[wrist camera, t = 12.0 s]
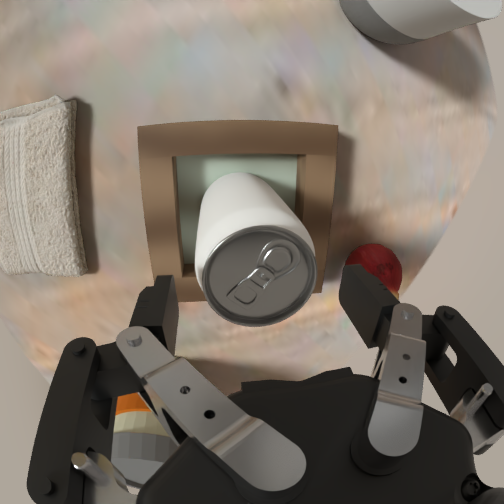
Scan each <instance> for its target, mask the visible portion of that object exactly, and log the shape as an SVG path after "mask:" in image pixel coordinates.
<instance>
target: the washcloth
mask: <svg viewBox="0 0 504 504" xmlns="http://www.w3.org/2000/svg"><path fill="white" fill-rule="evenodd" d="M76 111H77V101H76V100H67V101H64V100H63V99H62V98H60V97H59V96H58V95H56V94H55V96H53V97H51V98H50V99H47V100H44V101H40V102H35V103H31V104H27V105H23V106H19V107H16V108H12V109H9V110H5V111H2V112H0V266H1V268H2V269H3V271H4V272H5V273H6V274H11V275H14V274H15V275H17V274H28V273H30V272H31V273H43V272H44V273H45V274H46V275H51V276H52V275H54V276H64V277H66V276H73V277H79V276H82V275H84V274H85V273H86V271H88V269H87V262H86V259H85V252H84V251H85V249H84V248H83V238H82V234H81V228H80V220H79V219H80V216H79V207H78V194H77V188H76V178H75V161H74V149H75V144H74V141H75V126H76V124H75V121H76Z"/></svg>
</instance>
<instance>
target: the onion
mask: <svg viewBox="0 0 504 504" xmlns="http://www.w3.org/2000/svg"><path fill="white" fill-rule="evenodd" d="M353 264H361V265H362V266H363V267H364V269H365V270H366V271H367V272H368V273H371V274H372V275H374V276H376V277H377V278H379V280H380V281H381V282H382V283H383V285H385V286H386V287H387V288H388V290H390V292H391V293H392V294H393V295H394V296H395V297H396V298H397V299H398V297H399V293H398V290H399V288H400V285H401V281H402V267H401V264H400V262H399V260H398V258H397V257H396V255H395V254H394V253H393V252H392V250H390V249H388V248H386V247H384V246H382V245H380V244H366V245H363V246H360V247H358V248H357V249H356V250H354V251H353V252H352V253H351V254H350V255H349V257H348V259H347V260H346V262H345V265H353ZM398 300H399V299H398Z"/></svg>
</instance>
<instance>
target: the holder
mask: <svg viewBox="0 0 504 504" xmlns="http://www.w3.org/2000/svg"><path fill="white" fill-rule="evenodd" d="M137 128H138V151H139V166H140V179H141V190H142V200H143V209H144V218H145V226H146V233H147V241H148V248H149V254H150V260H151V267H152V272H153V278H154V283H155V280H156V277H157V275H173V276H174V280H175V287H176V293H177V300H178V302H195V301H207V300H206V298H205V296H204V293H203V291H202V289H201V287H200V285H199V283H198V280H197V277H196V271H195V250H196V240H197V231H198V223H199V216H200V209H201V203H202V199H203V197H204V194H205V192H206V191H207V189H208V188H209V187H210V185H211V184H212V183H213V182H215V181H216V180H217V179H219V178H220V177H222V176H224V175H227V174H230V173H236V172H244V173H249V174H252V175H255V176H257V177H259V178H261V179H262V180H264V181H265V182H266V183H267V184H268V185H269V186H270V187H271V188H272V189H273V190H274V191H275V192H276V193H277V194H278V195H279V197H280V198H281V199H282V200H283V201H284V202H285V203H286V205H287V206H288V207H289V208H290V209H291V210H292V212H293V213H294V214H295V215H296V216H297V218H298V219H299V220H300V221H301V223H302V224H303V225H304V227H305V228H306V230H307V231H308V233H309V235H310V237H311V239H312V242H313V245H314V250H315V258H316V262H317V281H316V285H315V288H314V290H313V292H312V293H321V292H322V285H323V279H324V272H325V265H326V257H327V250H328V242H329V234H330V225H331V216H332V206H333V196H334V184H335V172H336V157H337V140H338V125H329V124H319V123H306V122H291V121H267V120H218V121H195V122H179V123H167V124H156V125H147V126H139V127H137Z"/></svg>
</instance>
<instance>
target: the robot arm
mask: <svg viewBox="0 0 504 504" xmlns="http://www.w3.org/2000/svg"><path fill="white" fill-rule="evenodd" d="M339 301H340V304H341V306H342V307H343V309H344V311H345V312H346V314H347V315H348V317H349V318H350V320H351V322H352V323H353V325H354V326H355V328H356V330H357V331H358V333H359V334H360V336H361V338H362V339H363V341H364V343H365V344H366V346H367V347H368V348H373V347H379V350H378V353H377V356H376V359H375V363H374V367H373V370H372V374H371V377H369V376H365V375H359V374H353V372H352V370H351V368H350V367H346V368H341V369H336V370H331V371H325V372H323V373H321V374H318V375H316V376H313V377H311V378H308V379H306V380H303V381H282V380H261V381H251V382H241V389H242V391H238V392H236V393H233V394H231V395H229V396H227V397H226V396H225V395H224V394H223V393H222V392H221V391H219V390H218V389H217V388H216V387H215V386H214V385H213V384H212V383H210V382H209V381H208V380H207V379H206V378H205V377H204V376H203V375H202V374H201V373H200V372H198V371H197V370H196V369H195V368H194V367H193V366H192V365H191V364H190V363H189V362H188V361H187V360H186V359H185V358H183V357H179V358H177V359H176V358H174V354H175V344H176V335H177V326H178V317H179V308H178V300H177V293H176V287H175V280H174V276H173V275H157V277H156V280H155V283H154V286H151V287H146V288H145V289H144V290H143V291H142V292H141V293H140V294H139V297H138V300H137V303H136V306H135V309H134V312H133V315H132V318H131V321H130V324H129V328H127V329H125V330H123V331H121V332H120V333H119V335H118V336H117V338H116V342H113V343H110V344H105V345H101V346H96V344H95V342H94V341H93V340H92V339H90V338H86V337H81V338H77V339H74V340H72V341H70V342H69V343H68V344H67V345H66V346H65V348H64V350H63V353H62V355H61V358H60V361H59V363H58V366H57V369H56V372H55V374H54V377H53V380H52V383H51V386H50V389H49V392H48V395H47V398H46V402H45V405H44V408H43V412H42V415H41V419H40V422H39V426H38V430H37V434H36V438H35V442H34V446H33V451H32V456H31V461H30V466H29V471H28V477H27V489H28V493H29V495H30V497H31V498H32V500H33V501H34V502H35V503H36V504H504V488H493V487H490V486H487V485H485V484H484V483H483V482H481V480H480V479H479V477H478V475H477V473H476V469H475V464H474V457H473V454H475V455H480V454H483V453H484V452H485V451H487V450H488V449H489V448H490V447H491V446H492V445H493V444H494V443H495V442H496V441H498V440H499V439H500V438H501V437H502V436H503V435H504V366H503V365H502V363H501V362H500V361H499V359H498V358H497V357H496V356H495V355H494V353H493V352H492V351H491V350H490V348H489V347H488V346H487V344H486V343H485V342H484V341H483V340H482V339H481V337H480V336H479V335H478V334H477V333H476V331H475V330H474V329H473V328H472V327H471V326H470V325H469V323H468V322H467V321H466V320H465V319H464V318H463V317H462V316H461V314H460V313H459V312H458V311H457V310H455V309H454V308H452V307H449V306H439V307H438V308H437V309H436V312H435V314H434V315H422V313H421V311H420V310H419V309H418V308H417V307H415V306H413V305H411V304H407V303H400V302H399V301H398V299H397V298H396V297H395V296H394V295H393V294H392V293H391V292H390V290H388V288H387V287H386V286H385V285H383V283H382V282H381V281H380V280H379V278H377V277H376V276H374V275H372V274H371V273H368V272H367V271H366V270H365V269H364V267H363V266H362V265H361V264H353V265H345V266H344V268H343V273H342V279H341V284H340V289H339ZM449 345H450V346H451V348H452V349H453V350H454V352H455V353H456V355H457V363H456V365H455V367H454V365H453V364H452V363H451V361H450V359H449V358H448V357H447V355H446V354H445V352H446V350H447V348H448V346H449ZM424 372H425V373H426V375H427V377H428V378H429V380H430V382H431V383H432V385H433V387H434V388H435V390H436V392H437V393H438V395H439V397H440V399H441V400H442V402H443V404H444V406H445V407H446V409H447V411H448V413H449V415H450V416H448V415H446V414H444V413H442V412H440V411H438V410H436V409H434V408H432V407H430V406H428V405H426V404H424V403H422V402H421V397H422V390H423V380H424ZM132 393H138V395H139V396H140V397H141V399H142V400H143V401H144V403H145V404H146V405H147V407H148V408H149V409H150V411H151V412H152V413H153V414H154V416H155V417H156V418H157V419H158V421H159V422H160V423H161V425H162V426H163V428H164V429H165V431H166V432H167V434H168V435H169V436H170V438H171V439H172V440H173V441H174V442H175V444H176V445H177V446H178V448H177V449H176V450H175V451H174V453H173V454H172V455H171V456H170V457H169V458H168V459H167V460H166V461H165V462H164V463H163V465H162V466H161V467H160V468H159V469H158V470H157V471H156V472H155V473H154V474H153V475H152V476H151V477H150V478H149V479H148V480H147V481H146V482H145V484H144V485H143V486H142V487H141V489H140V491H139V493H138V495H134V494H131V493H129V491H128V489H127V486H126V480H125V477H124V475H123V474H122V473H121V471H120V470H119V469H117V468H116V467H115V466H114V465H113V464H112V463H111V456H112V443H113V433H114V424H115V415H116V407H117V400H118V397H119V396H123V395H128V394H132Z"/></svg>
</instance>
